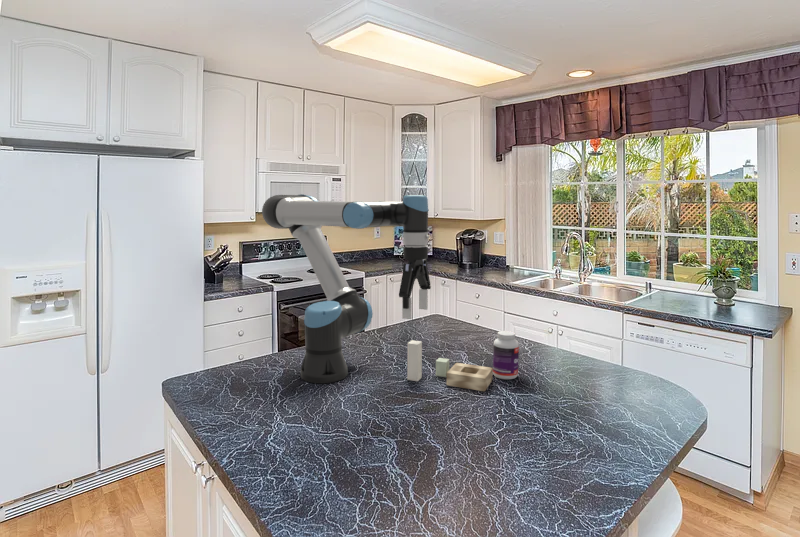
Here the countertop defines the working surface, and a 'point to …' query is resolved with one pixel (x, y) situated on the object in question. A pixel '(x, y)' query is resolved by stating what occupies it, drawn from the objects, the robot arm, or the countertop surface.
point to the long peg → (414, 360)
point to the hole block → (469, 376)
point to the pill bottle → (505, 355)
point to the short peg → (442, 367)
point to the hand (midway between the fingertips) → (415, 313)
